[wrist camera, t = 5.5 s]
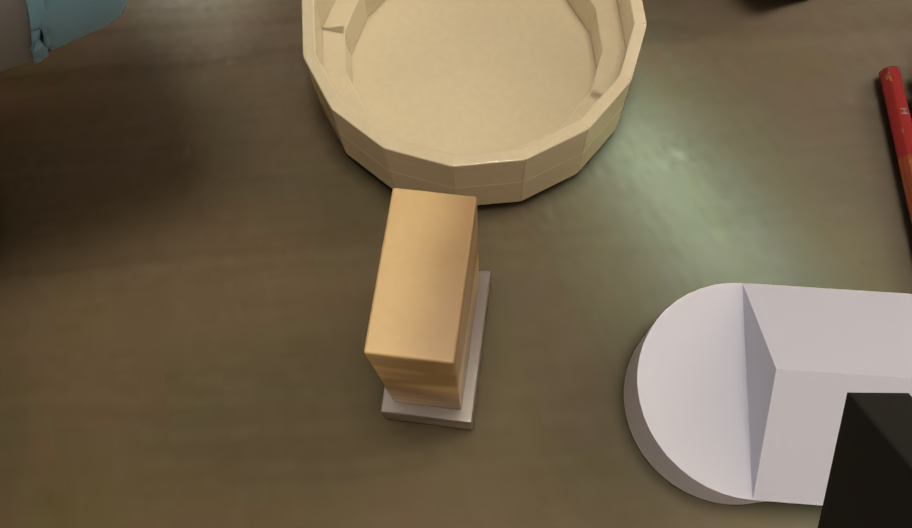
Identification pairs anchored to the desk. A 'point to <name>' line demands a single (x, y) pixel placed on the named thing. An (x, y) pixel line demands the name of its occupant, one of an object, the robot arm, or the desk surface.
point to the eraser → (429, 309)
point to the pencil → (899, 125)
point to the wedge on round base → (761, 385)
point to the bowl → (472, 87)
